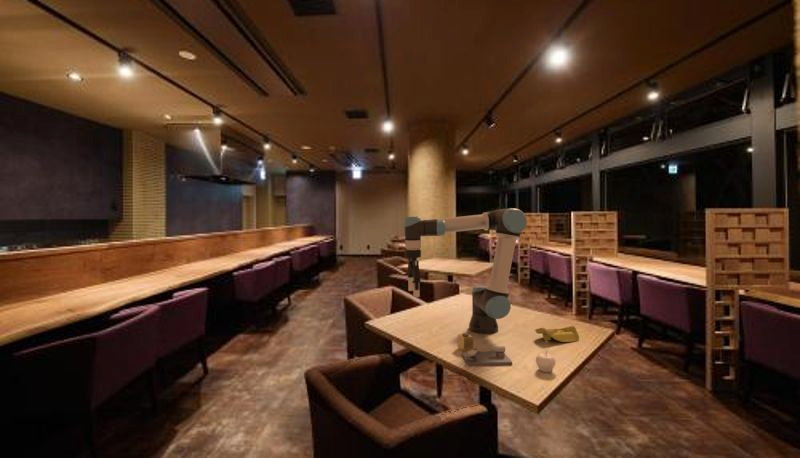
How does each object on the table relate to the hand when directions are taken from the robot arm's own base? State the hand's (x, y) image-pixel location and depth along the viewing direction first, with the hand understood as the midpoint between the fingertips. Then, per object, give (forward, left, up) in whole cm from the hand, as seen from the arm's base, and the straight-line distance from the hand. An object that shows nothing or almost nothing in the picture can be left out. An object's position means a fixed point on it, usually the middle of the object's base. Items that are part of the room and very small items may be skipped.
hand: (413, 293), depth 173 cm
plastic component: (-69, -1, -24) cm, 73 cm away
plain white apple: (-49, +34, -24) cm, 64 cm away
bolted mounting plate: (-29, +22, -24) cm, 43 cm away
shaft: (-22, +25, -22) cm, 40 cm away
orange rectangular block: (-23, +10, -24) cm, 34 cm away
